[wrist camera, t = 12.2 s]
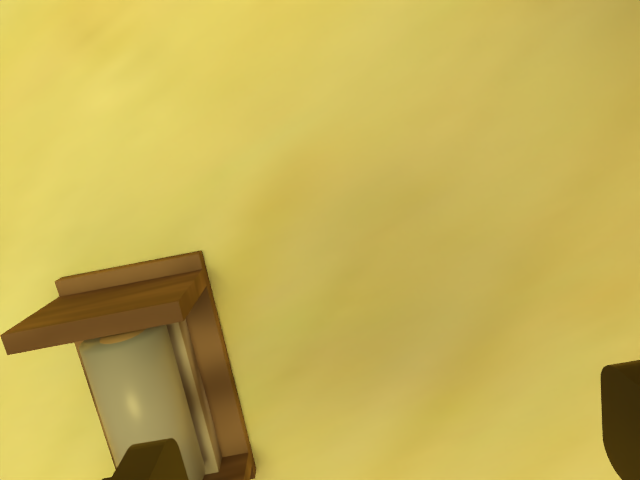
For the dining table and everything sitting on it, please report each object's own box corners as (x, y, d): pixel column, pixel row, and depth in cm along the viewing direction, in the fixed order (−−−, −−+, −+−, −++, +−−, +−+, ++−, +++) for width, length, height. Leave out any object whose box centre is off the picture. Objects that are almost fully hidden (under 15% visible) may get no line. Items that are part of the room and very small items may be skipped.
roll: (103, 323, 32) (60, 358, 27) (175, 311, 32) (147, 344, 27) (144, 462, 35) (113, 518, 30) (213, 452, 34) (193, 506, 29)
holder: (61, 277, 33) (-7, 316, 26) (201, 250, 33) (173, 282, 26) (131, 493, 37) (89, 581, 29) (256, 469, 37) (245, 551, 29)
